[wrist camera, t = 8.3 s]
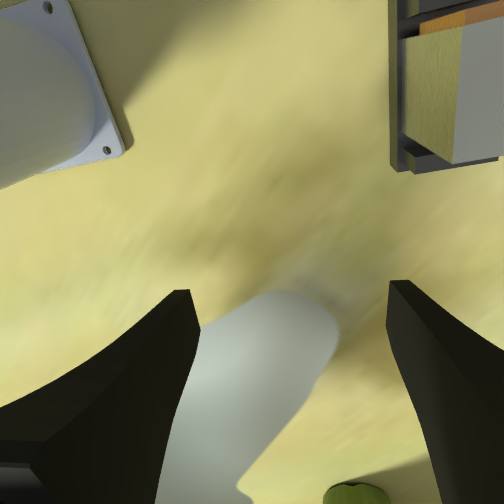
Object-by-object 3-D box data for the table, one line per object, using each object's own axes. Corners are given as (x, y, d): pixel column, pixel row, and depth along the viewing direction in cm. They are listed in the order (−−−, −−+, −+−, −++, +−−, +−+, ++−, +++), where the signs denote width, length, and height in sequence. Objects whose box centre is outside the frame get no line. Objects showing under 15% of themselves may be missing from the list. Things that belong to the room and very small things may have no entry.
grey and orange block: (401, 132, 16) (451, 164, 11) (402, 28, 14) (463, 9, 9) (479, 117, 16) (571, 144, 11) (491, 6, 14) (612, -28, 8)
